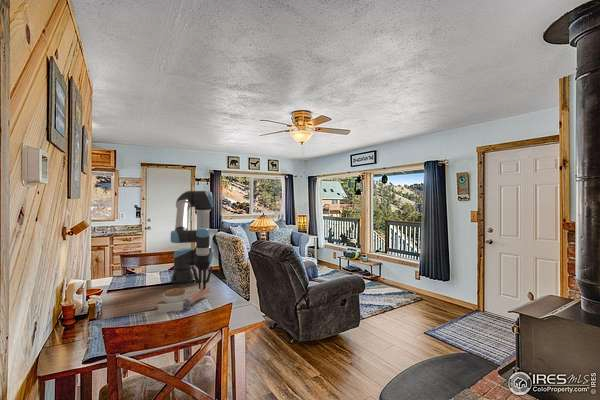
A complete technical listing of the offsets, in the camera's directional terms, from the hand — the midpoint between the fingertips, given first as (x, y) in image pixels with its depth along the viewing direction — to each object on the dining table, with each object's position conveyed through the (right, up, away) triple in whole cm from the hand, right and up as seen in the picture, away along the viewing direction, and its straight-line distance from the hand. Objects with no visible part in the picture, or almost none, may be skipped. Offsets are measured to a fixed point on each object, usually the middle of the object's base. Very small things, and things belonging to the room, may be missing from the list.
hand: (202, 294), depth 179 cm
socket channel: (-11, -2, -12) cm, 17 cm away
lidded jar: (-11, -2, -12) cm, 17 cm away
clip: (0, 0, -8) cm, 8 cm away
